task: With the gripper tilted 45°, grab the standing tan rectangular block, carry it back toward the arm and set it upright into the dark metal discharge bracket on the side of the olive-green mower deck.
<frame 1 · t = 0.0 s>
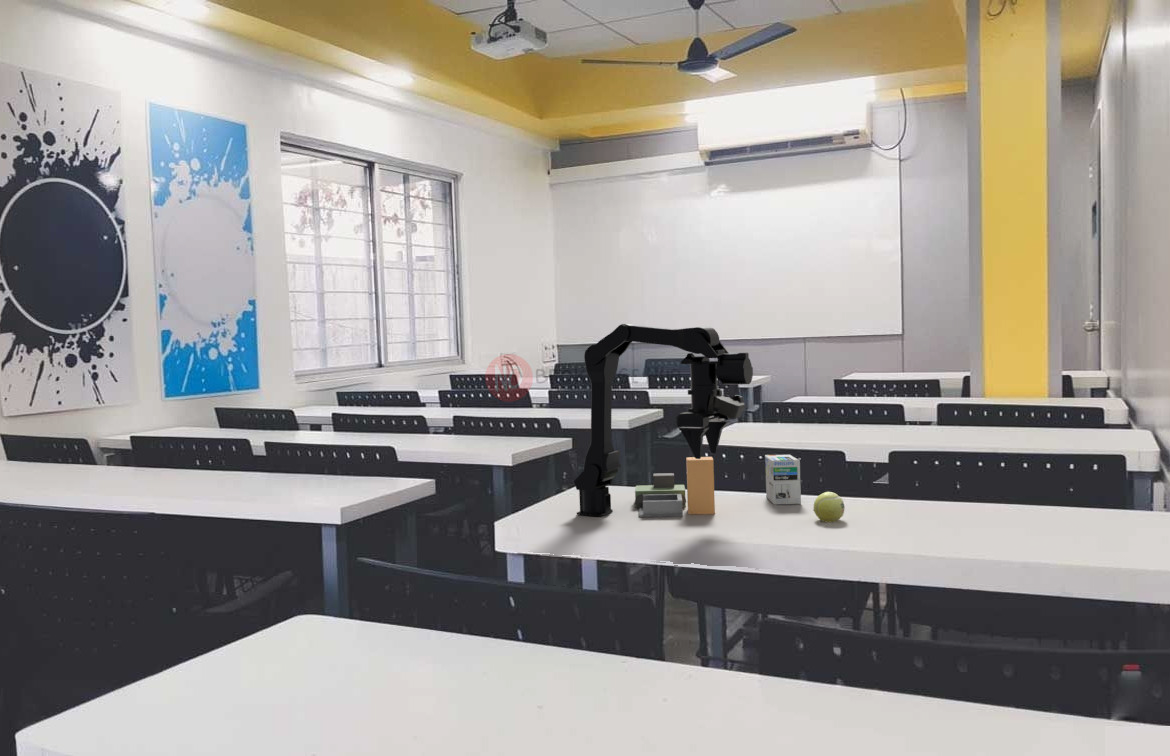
hand: (706, 455, 198), 15 cm above the table, tool pointing down, fingers open, 9 cm apart
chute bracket: (660, 512, 211), on the table
light bulb box: (783, 501, 221), on the table
tan rectangular block: (701, 511, 210), on the table
tennis ball: (828, 521, 196), on the table
mower deck: (660, 504, 221), on the table
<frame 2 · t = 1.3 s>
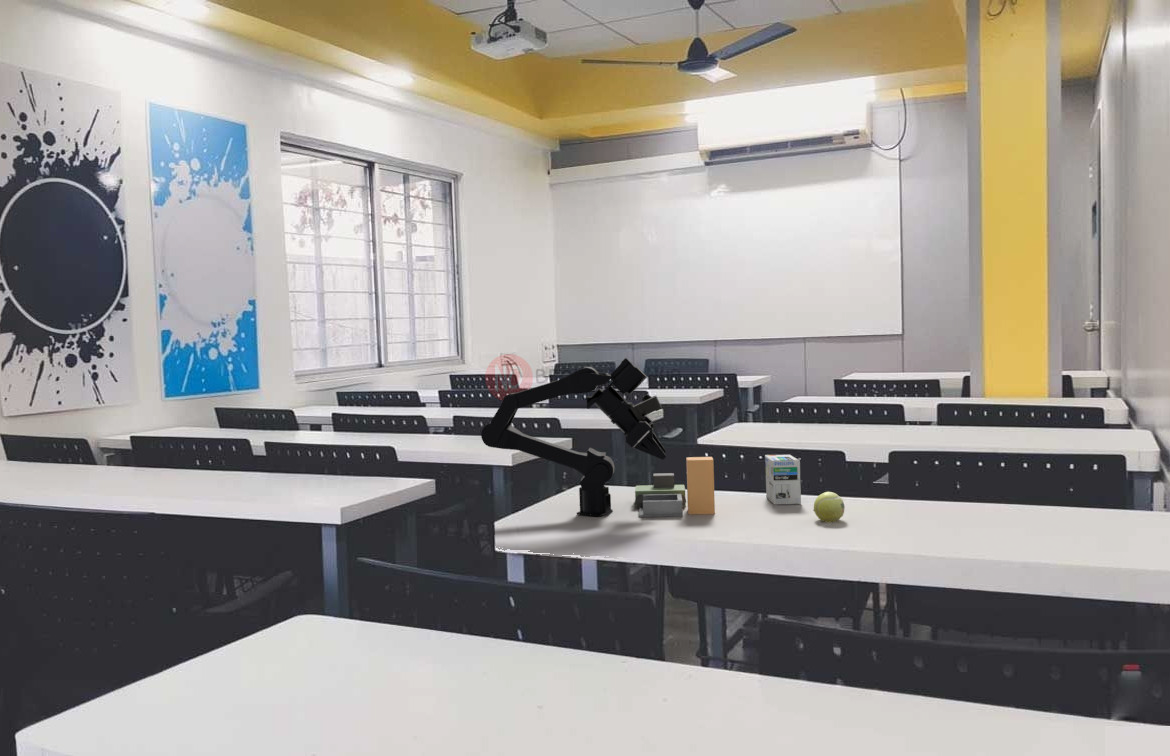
hand: (664, 455, 210), 13 cm above the table, tool tilted 45°, fingers open, 9 cm apart
nothing on the table moved.
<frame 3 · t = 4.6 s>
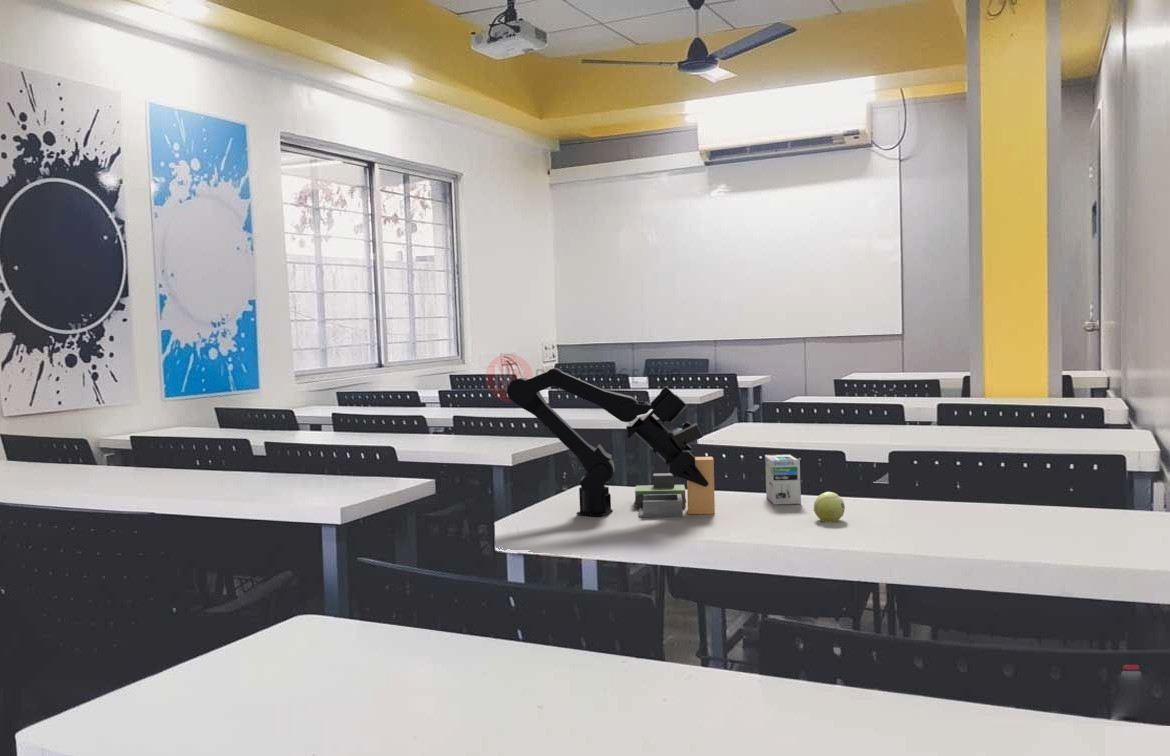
hand: (706, 483, 210), 7 cm above the table, tool tilted 45°, fingers closed on tan rectangular block, 5 cm apart
tan rectangular block: (701, 511, 210), on the table, touching gripper
everything else where it was.
when the fingers open (8 cm above the table, at t = 8.0 s): tan rectangular block drops 1 cm, resting on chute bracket.
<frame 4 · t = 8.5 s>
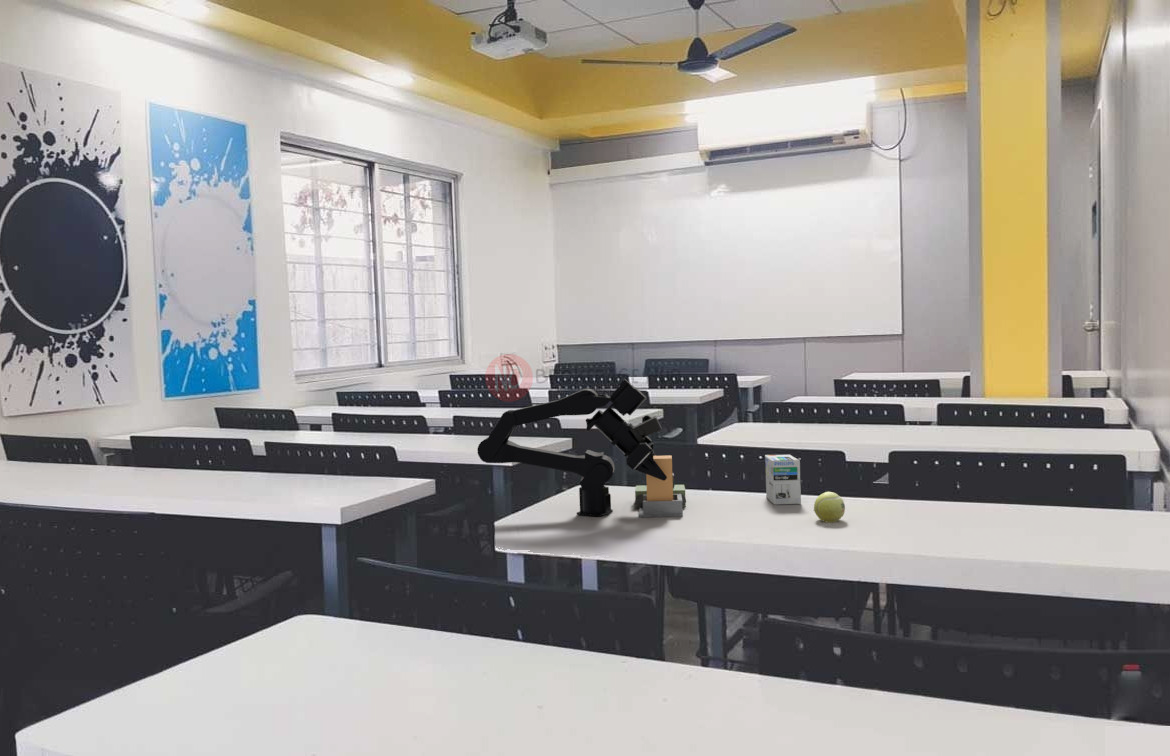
hand: (665, 476, 211), 9 cm above the table, tool tilted 45°, fingers open, 9 cm apart
tan rectangular block: (660, 510, 211), resting on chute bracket
everything else where it was.
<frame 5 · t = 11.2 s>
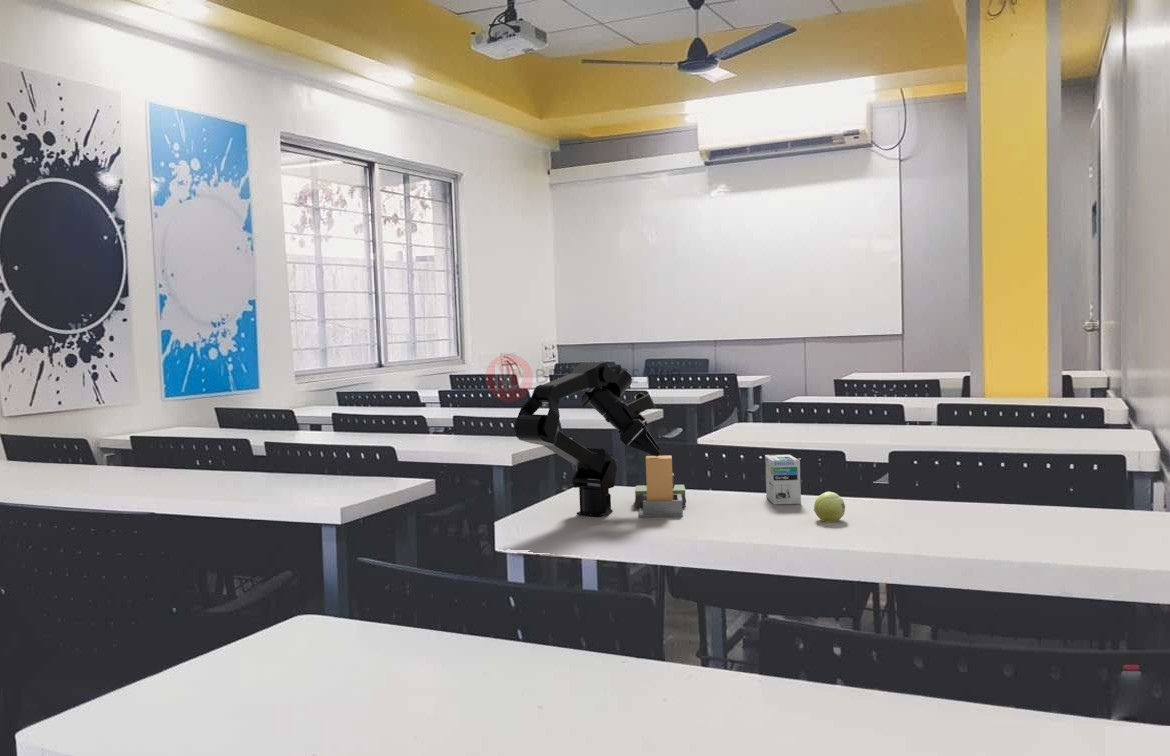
hand: (658, 452, 214), 14 cm above the table, tool tilted 45°, fingers open, 9 cm apart
nothing on the table moved.
at the end: tan rectangular block 0.0 cm off-centre on the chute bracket, point 0.5 cm above the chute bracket's base; tan rectangular block tilted 0°; the gripper is holding nothing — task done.
